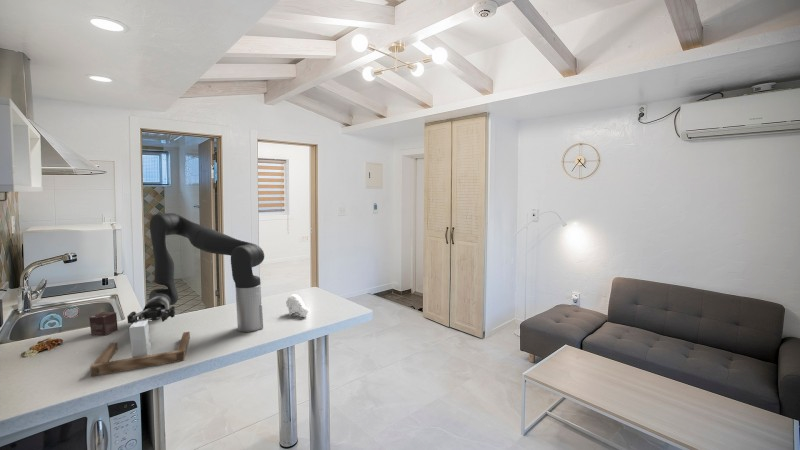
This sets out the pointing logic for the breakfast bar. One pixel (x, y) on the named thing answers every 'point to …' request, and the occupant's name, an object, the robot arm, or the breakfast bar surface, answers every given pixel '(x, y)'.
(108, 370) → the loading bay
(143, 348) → the skincare box
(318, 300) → the breakfast bar surface
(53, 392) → the breakfast bar surface
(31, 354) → the pastry
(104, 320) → the box
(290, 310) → the white lumpy piece
